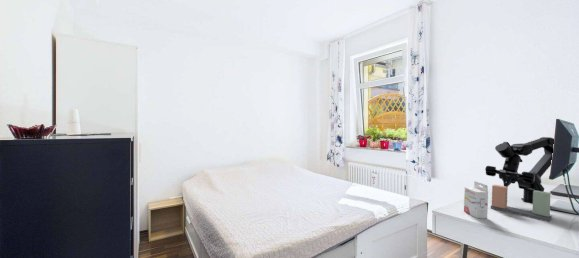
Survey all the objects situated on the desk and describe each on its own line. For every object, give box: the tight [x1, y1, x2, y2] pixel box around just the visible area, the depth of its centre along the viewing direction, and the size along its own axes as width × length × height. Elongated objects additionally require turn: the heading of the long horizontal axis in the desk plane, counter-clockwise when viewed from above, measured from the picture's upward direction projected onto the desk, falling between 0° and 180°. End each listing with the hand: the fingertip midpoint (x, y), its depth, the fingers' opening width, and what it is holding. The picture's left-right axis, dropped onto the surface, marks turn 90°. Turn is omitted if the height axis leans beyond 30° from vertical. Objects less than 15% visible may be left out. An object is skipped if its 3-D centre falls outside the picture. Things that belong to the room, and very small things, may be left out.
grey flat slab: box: [490, 204, 553, 222], centre depth 115 cm, size 6×20×1 cm, turn 36°
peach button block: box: [491, 184, 509, 209], centre depth 119 cm, size 4×5×10 cm
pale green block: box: [531, 190, 552, 217], centre depth 110 cm, size 4×5×10 cm
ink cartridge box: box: [463, 180, 489, 219], centre depth 111 cm, size 9×5×15 cm, turn 179°
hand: (505, 187), depth 123 cm, fingers closed
